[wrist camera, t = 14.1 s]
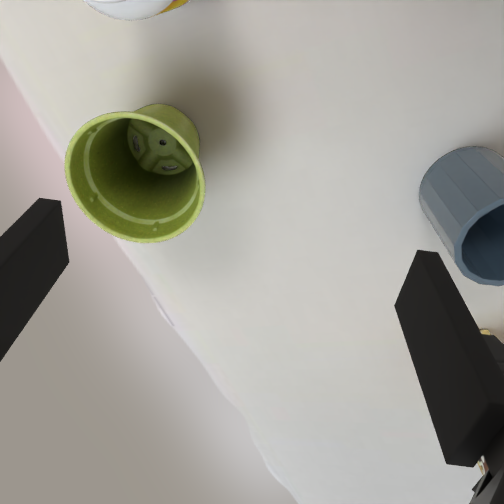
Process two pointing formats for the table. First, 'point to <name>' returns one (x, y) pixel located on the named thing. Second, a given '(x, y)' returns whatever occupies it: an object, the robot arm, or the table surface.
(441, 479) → the table surface
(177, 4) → the supplement bottle
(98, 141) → the plant pot
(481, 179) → the ceramic cup
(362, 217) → the table surface
